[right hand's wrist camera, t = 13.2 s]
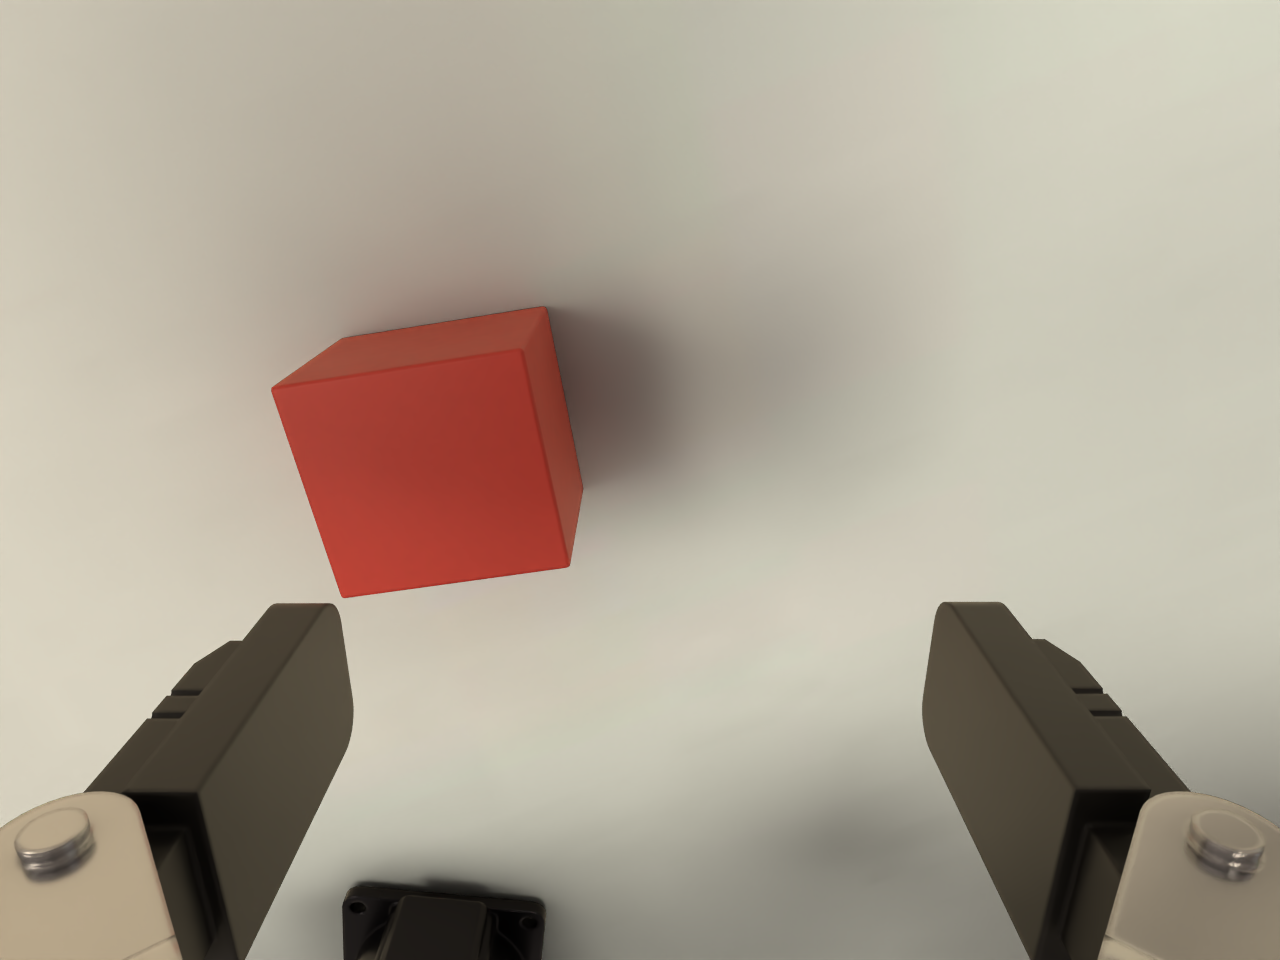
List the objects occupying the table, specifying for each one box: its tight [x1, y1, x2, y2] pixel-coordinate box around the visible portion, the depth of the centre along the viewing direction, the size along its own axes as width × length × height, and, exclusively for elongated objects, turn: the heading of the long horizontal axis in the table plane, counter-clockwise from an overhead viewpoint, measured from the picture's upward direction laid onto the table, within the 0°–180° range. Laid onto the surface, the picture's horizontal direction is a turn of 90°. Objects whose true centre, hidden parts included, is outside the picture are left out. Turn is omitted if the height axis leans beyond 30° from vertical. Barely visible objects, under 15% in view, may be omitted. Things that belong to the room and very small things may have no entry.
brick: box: [271, 306, 583, 598], centre depth 19 cm, size 5×5×4 cm
